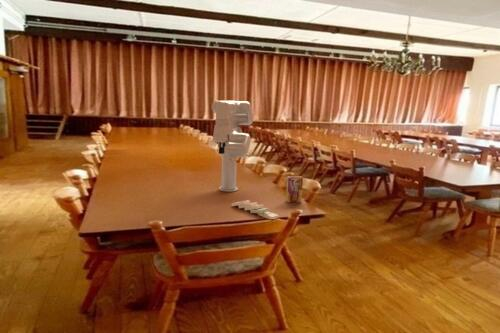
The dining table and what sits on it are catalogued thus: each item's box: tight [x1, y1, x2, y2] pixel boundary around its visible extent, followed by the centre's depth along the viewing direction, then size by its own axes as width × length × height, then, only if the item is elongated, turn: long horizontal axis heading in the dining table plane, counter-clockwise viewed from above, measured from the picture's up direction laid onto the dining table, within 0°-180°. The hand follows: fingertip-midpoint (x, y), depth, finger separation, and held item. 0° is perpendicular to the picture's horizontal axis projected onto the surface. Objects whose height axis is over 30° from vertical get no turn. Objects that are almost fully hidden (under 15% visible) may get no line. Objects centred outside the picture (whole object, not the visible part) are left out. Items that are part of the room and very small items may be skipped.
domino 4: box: [257, 211, 280, 220], centre depth 179 cm, size 2×5×10 cm
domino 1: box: [231, 199, 251, 207], centre depth 192 cm, size 2×5×10 cm
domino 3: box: [243, 204, 265, 211], centre depth 185 cm, size 2×5×10 cm
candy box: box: [285, 175, 304, 203], centre depth 207 cm, size 9×4×15 cm, turn 96°
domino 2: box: [238, 201, 258, 209], centre depth 189 cm, size 2×5×10 cm
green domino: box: [249, 207, 270, 214], centre depth 181 cm, size 2×5×10 cm
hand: (221, 153), depth 205 cm, fingers closed
